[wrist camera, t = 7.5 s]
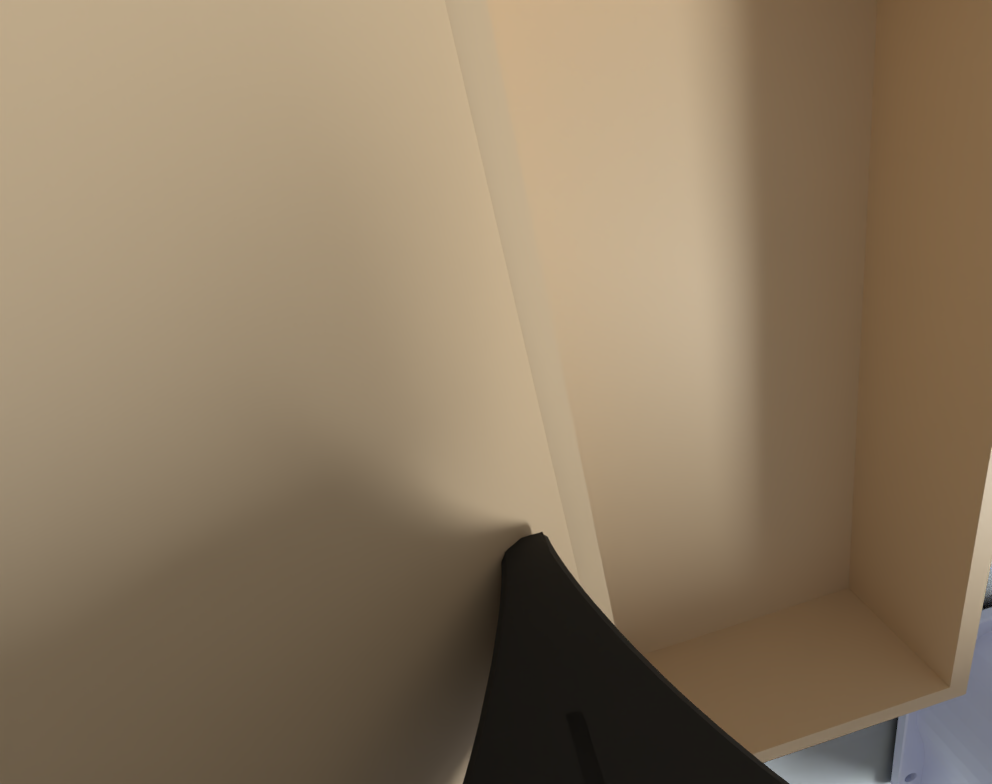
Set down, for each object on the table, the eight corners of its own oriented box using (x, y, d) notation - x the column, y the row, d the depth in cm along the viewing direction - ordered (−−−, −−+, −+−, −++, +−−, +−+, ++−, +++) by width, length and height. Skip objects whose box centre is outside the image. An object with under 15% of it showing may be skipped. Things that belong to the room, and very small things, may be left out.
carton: (851, 583, 18) (965, 693, 15) (582, 670, 18) (632, 807, 14) (888, -138, 10) (1155, -285, 7) (407, -17, 10) (419, -104, 6)
